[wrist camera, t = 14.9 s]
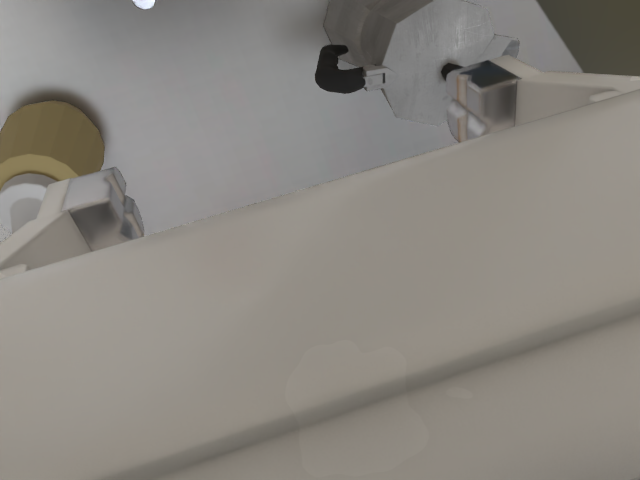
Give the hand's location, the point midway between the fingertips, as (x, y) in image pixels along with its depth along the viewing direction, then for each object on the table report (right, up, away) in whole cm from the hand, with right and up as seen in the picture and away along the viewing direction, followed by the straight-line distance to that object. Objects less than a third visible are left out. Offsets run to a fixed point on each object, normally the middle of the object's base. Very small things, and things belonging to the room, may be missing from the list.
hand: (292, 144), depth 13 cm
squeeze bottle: (-23, +8, +35) cm, 43 cm away
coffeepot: (+4, +18, +36) cm, 41 cm away
